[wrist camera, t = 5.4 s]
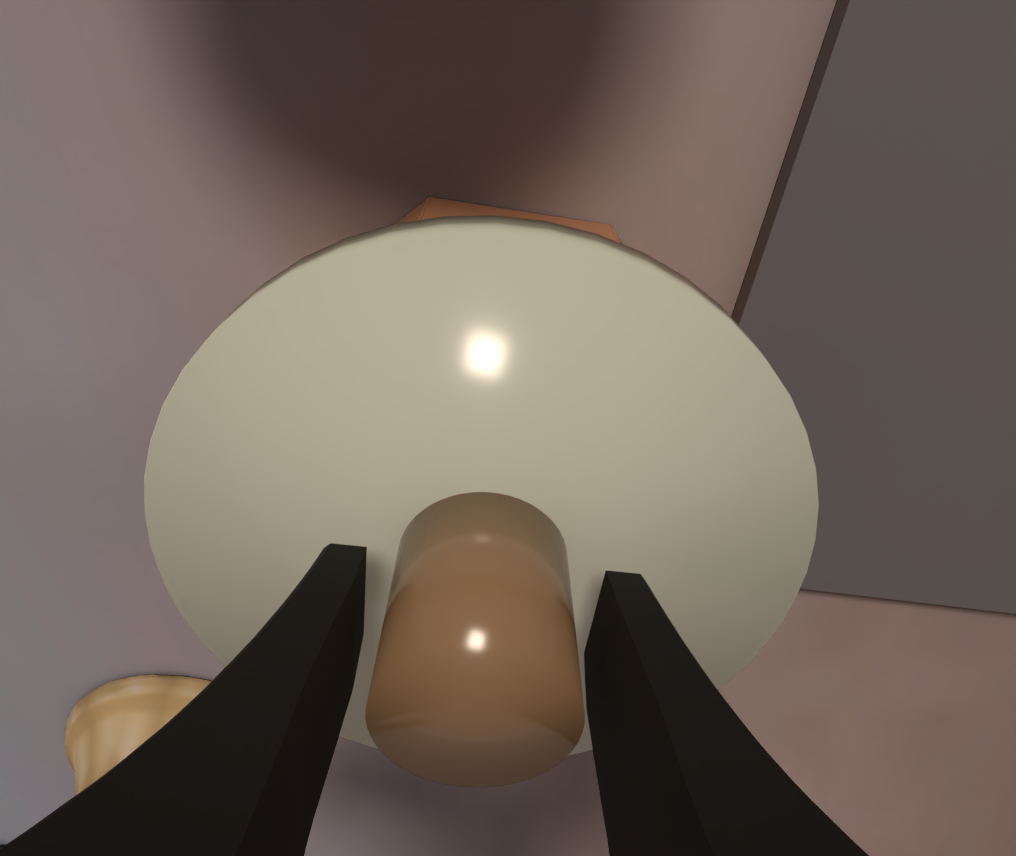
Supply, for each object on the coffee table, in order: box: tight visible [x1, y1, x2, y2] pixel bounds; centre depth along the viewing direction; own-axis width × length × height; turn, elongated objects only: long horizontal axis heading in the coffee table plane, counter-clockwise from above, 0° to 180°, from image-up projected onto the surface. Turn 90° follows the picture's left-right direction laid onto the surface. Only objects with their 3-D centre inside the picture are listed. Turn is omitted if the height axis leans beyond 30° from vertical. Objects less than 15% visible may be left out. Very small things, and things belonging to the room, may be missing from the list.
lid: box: [144, 215, 819, 787], centre depth 12 cm, size 12×12×4 cm
